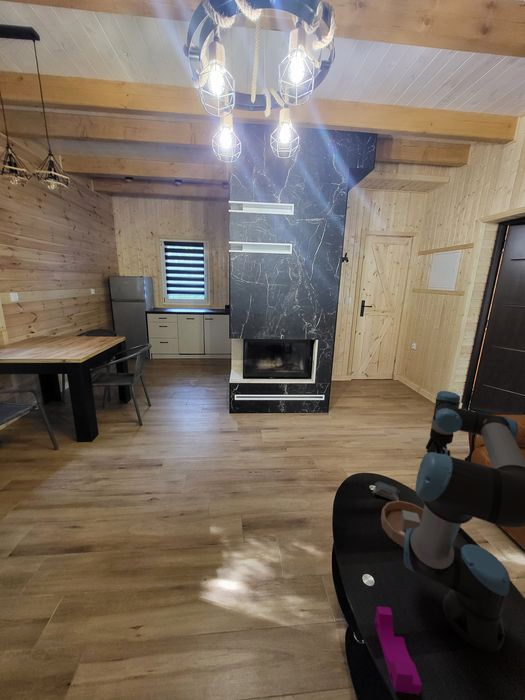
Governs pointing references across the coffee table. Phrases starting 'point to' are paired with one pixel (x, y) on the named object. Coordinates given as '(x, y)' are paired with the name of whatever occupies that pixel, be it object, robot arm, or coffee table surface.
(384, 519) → the bowl
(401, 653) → the toy block
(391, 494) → the packaged food
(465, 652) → the coffee table surface
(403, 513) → the grey cube
